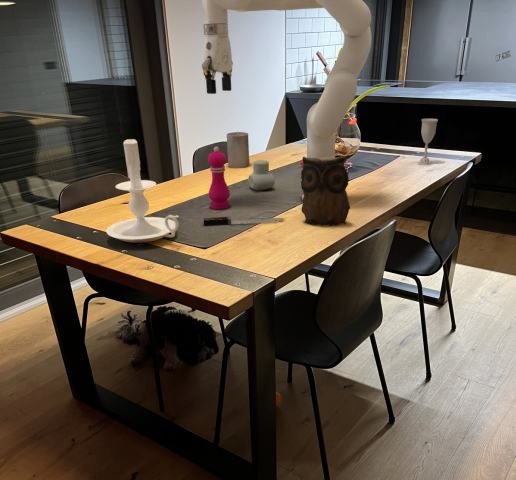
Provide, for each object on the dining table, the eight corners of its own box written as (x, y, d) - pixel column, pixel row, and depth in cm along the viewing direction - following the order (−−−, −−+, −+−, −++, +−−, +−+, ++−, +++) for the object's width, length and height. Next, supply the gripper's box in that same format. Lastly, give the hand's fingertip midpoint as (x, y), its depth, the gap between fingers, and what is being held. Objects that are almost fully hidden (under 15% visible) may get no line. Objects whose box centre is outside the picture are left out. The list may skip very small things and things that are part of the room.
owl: (350, 224, 165) (354, 156, 155) (315, 230, 161) (316, 161, 151) (329, 213, 175) (332, 149, 165) (295, 219, 171) (296, 154, 161)
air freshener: (247, 186, 210) (246, 160, 205) (267, 184, 212) (266, 158, 207) (255, 193, 201) (254, 165, 196) (276, 190, 203) (276, 163, 198)
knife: (282, 218, 173) (282, 212, 172) (283, 222, 169) (283, 216, 168) (204, 222, 171) (203, 217, 170) (203, 226, 168) (203, 220, 167)
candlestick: (157, 257, 146) (143, 149, 131) (93, 242, 157) (74, 142, 143) (203, 235, 161) (194, 136, 146) (141, 223, 172) (128, 130, 158)
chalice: (434, 165, 232) (440, 120, 223) (418, 165, 233) (423, 121, 224) (430, 161, 239) (435, 118, 230) (414, 162, 239) (419, 118, 230)
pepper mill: (227, 210, 182) (224, 148, 172) (207, 209, 184) (202, 148, 174) (232, 204, 188) (229, 144, 178) (212, 203, 190) (208, 144, 180)
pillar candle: (236, 162, 249) (235, 128, 241) (253, 164, 244) (252, 129, 236) (223, 166, 242) (221, 131, 235) (240, 169, 237) (239, 133, 230)
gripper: (211, 31, 157) (215, 95, 166) (240, 30, 170) (242, 89, 179) (190, 31, 160) (195, 94, 169) (219, 31, 173) (222, 89, 182)
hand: (219, 92), depth 174 cm, fingers open, 9 cm apart
